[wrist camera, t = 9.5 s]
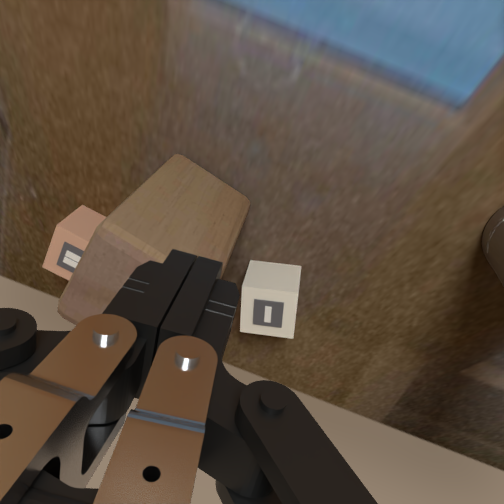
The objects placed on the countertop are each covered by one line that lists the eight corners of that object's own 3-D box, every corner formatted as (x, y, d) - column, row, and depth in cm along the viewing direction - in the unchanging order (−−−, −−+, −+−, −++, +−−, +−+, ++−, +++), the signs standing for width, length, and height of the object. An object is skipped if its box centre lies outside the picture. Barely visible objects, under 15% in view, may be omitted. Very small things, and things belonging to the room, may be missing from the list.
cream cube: (301, 265, 55) (298, 294, 50) (296, 308, 58) (293, 340, 52) (250, 259, 56) (241, 287, 50) (248, 302, 58) (239, 333, 53)
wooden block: (210, 263, 57) (156, 378, 39) (137, 217, 55) (48, 315, 38) (255, 198, 52) (217, 296, 34) (177, 147, 51) (96, 221, 33)
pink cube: (128, 228, 56) (106, 253, 51) (112, 266, 59) (89, 293, 53) (82, 204, 56) (55, 226, 50) (68, 243, 58) (40, 268, 53)
